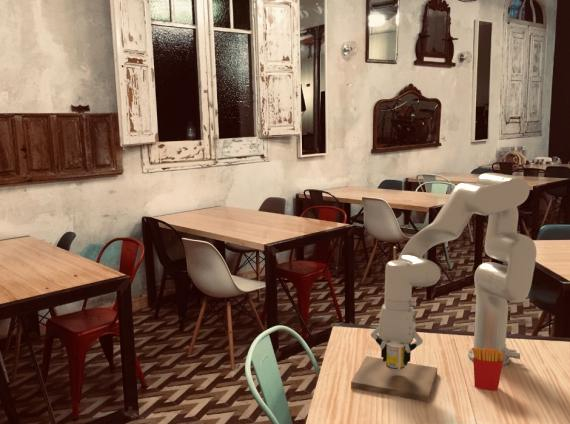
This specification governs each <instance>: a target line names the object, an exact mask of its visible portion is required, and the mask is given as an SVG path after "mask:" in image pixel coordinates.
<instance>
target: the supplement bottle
mask: <svg viewBox="0 0 570 424" xmlns="http://www.w3.org/2000/svg"><path fill="white" fill-rule="evenodd" d="M386 344H387V348H386V367H387V368H388V369H390V370H393V371H401V370H403V369H404V368H405V365H404V354H405V351H406V348H405V345H404V343H400V342H396V341H387V343H386Z"/></svg>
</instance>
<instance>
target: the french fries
mask: <svg viewBox="0 0 570 424" xmlns="http://www.w3.org/2000/svg"><path fill="white" fill-rule="evenodd" d="M471 349H472V350H473V354H474V355H473V361H472V362H473V378H474V381H473V382H474V387H475V388H476V389H478V390H484V391H491V392H495V391H496V392H497V391H498V390H499V385H500V379H501V374H502V369H503V366H502V364H503V359H502V357H503V352H501V353H499V352H498V349H494V351H493V349H491V350H490V351H489V348H487V349H486V347H484V350H482V351H481V349H480V347H478V349H477V348H474V347H472V348H471Z"/></svg>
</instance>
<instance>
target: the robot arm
mask: <svg viewBox="0 0 570 424" xmlns="http://www.w3.org/2000/svg"><path fill="white" fill-rule="evenodd" d="M529 194H530V185H529V183H528V181H527V180H526V179H524V178H523V177H520V176H516V175H510V174H504V173H496V172H484V173H481V174H480V175H479V176H478V177H477V178H476V182H475V183H473V182H460V183H458V184H457V185H455V186H454V187H453V190H452V191H451V193H450V194H449V196H448V197H447V198H446V200H445V202H444V204H443V205H442V207H441V208H440V210H439V212H438V213H437V215H436V216H435V218H434V220H433V221H432V222H431V223H430V224H428V225H427V226H425V227H424V228H422V229H420V231H418V232H417V233H416V234H414V235H412V237H411V238H410V239H409V240H408V241H407V243H406V244H405V246H404V248H403V249H402V251H401V252H400V254H399V256H398V258H397V259H396V260H395V259H394V260H390V261H388V262H387V263H386V265H385V277H384V304H382V306H381V310H380V314H379V315H380V316H379V323H378V327H376V328H375V329H374V330H373V331H371V333H370V336H371V338H372V339H374V340H375V342H376V343H377V344H378V346H380V349H381V355H380V356H381V357H380V358H382V359H383V362H385V361H386V348H387V341H396V342H400V343H404V345H405V348H406V351H405V354H404V365H407V363H410V362H411V356H412V355H411V354H412V353H411V352H412V351H413V350H415V349H416V348H417V347H419V346H420V345H422V344H423V342H424V339H423V338H422V337H421V336H420V335H419V334H418V332H417V331H416V316H415V310H414V309H415V308H414V307H416V306H417V301H415V300H413V299H412V288H413V287H431V286H434V285H435V284H436V283H437V282H439V280H440V277H441V274H442V273H441V269H440V267H439V265H438V264H436V263H435V262H433V261H432V260H429V259H427V258H424V257H423V256H424V255H425V254H426V253H427V251H429V249H431V248H432V247H434V246H437V245H439V244H442V243H446V242H450V241H454V240H456V239H457V240H458V238H459V237H460V236H461V234H462V232H463V231H464V229H465V228H466V226H467V225H468V223H469V221H470V219H471V218H472V216H473V215H474V214H476V215H480V216H488V219H487V220H488V222H487V227H486V235H485V239H484V240H485V241H484V252H485V254H486V255H487V256H488V257H490V258H492V259H495V260H497V261H500V262H503V263H506V264H507V266H506V265H503V264H501V263H496V262H491V261H488V262H487V261H486V262H483V263H481V264H479V265H478V267H477V268H476V270H475V272H474V276H473V277H474V278H473V279H474V281H473V282H474V287H475V297H476V299H475V300H476V301H475V302H476V303H475V317H474V334H473V335H474V336H473V348H477V349H478V347H480V349H481V351H482V350H484V347H486V349H487V348H489V351H490V350H491V349H493V351H494V349H498V352H499V353H501V352H503V357H502V359H503V364H502V367H504V366H506V365H508V364H509V363H510V359H512V358H513V359H517V360H520V359H521V352H517V349H511V348H508V347H507V341H506V340H507V328H508V327H507V326H508V312H509V306H508V305H509V304H508V301H509V302H512V303H521V302H523V301H524V300H525V299H526V298H527V297H528V295H529V293H530V290H531V287H532V284H533V283H532V282H533V278H534V272H535V267H536V266H535V265H536V260H537V254H538V253H537V246H536V244H535V242H534V240H533V239H532V238H531V237H530V236H527V235H525V234H523V233H522V234H521V233H518V222H519V210H518V206H520V205H522V204H523V203H525V201H527V199H528V197H529ZM414 340H415V341H414ZM473 355H474V354H473V350H472V348H470V349H469V350H468V351H467V356H468V358H469V360H471V361H472V362H473Z"/></svg>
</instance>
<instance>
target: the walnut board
mask: <svg viewBox="0 0 570 424" xmlns="http://www.w3.org/2000/svg"><path fill="white" fill-rule="evenodd" d="M437 375H438V367H435V366H429V365H423V364H417V363H410V362H408V363H407V365H405V368H404V369H403V370H401V371H393V370H390V369H388V368H387V367H386V361H385V362H383V358H382V357H380V358H379V357H375V356H374V357H373V356H367V355H366V356H365V358H364V360H363V361H362V362H361V364H360V366H359V368H358V369H357V371H356V372H355V374H354V376H353V377H352V379H351V382H350V389H355V390H358V391H359V390H360V391H364V392H370V393H375V394H381V395H386V396H391V397H397V398H401V399H408V400H412V401H418V402H424V403H428V404H429V402H430V399H431V395H432V392H433V389H434V386H435V382H436V378H437Z"/></svg>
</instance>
